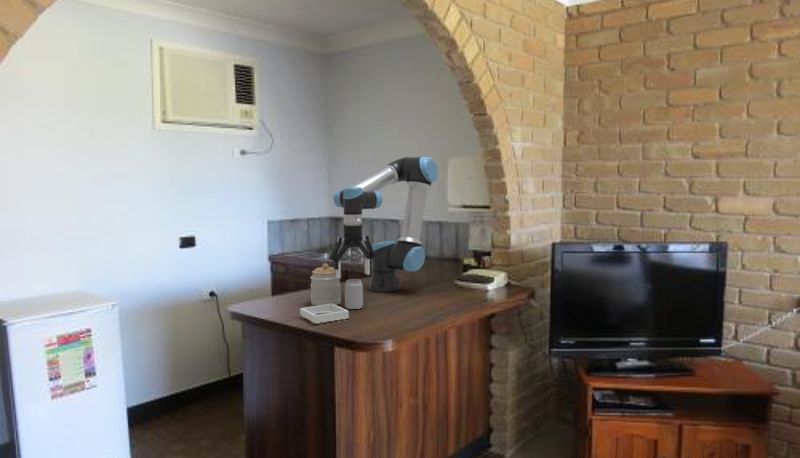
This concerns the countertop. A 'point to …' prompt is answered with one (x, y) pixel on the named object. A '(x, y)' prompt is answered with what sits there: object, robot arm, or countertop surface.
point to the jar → (325, 286)
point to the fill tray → (324, 313)
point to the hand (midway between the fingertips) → (353, 275)
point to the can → (353, 294)
